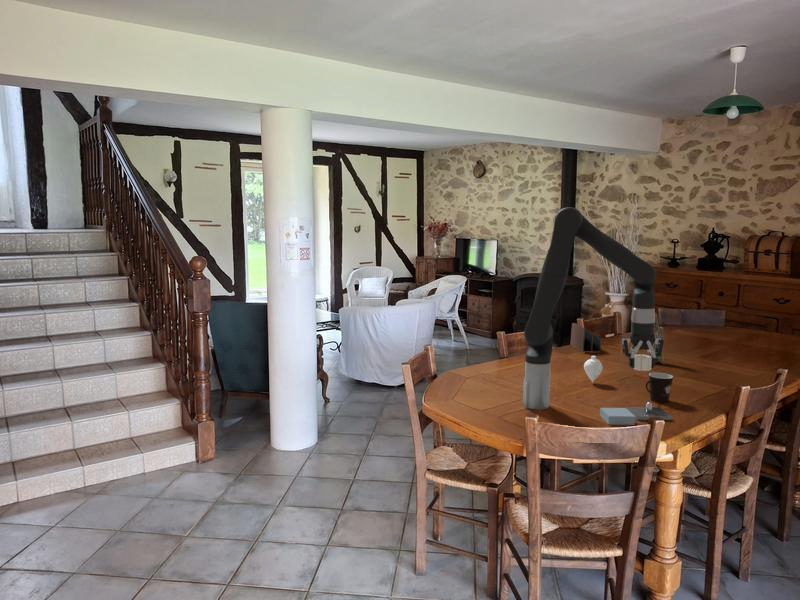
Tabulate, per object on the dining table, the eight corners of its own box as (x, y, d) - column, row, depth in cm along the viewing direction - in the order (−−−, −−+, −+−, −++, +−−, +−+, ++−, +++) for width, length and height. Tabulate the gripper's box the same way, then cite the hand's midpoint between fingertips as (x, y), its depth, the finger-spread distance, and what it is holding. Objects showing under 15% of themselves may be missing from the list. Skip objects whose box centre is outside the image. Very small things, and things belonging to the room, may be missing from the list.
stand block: (608, 424, 194) (608, 416, 194) (599, 415, 203) (600, 407, 203) (634, 424, 194) (635, 416, 194) (625, 416, 203) (625, 408, 203)
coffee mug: (664, 397, 225) (666, 372, 224) (675, 403, 217) (677, 378, 216) (635, 397, 225) (637, 372, 224) (645, 404, 217) (647, 378, 215)
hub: (637, 420, 199) (637, 406, 198) (626, 411, 208) (627, 397, 208) (671, 420, 198) (672, 406, 198) (659, 411, 208) (660, 398, 208)
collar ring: (635, 370, 196) (636, 358, 195) (629, 366, 202) (630, 354, 201) (653, 370, 195) (653, 358, 195) (646, 366, 201) (647, 354, 201)
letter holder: (582, 353, 302) (583, 327, 300) (570, 345, 322) (571, 321, 320) (600, 353, 302) (602, 327, 300) (587, 345, 322) (588, 321, 320)
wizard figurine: (657, 366, 273) (661, 315, 270) (641, 363, 280) (644, 313, 277) (669, 363, 279) (673, 313, 276) (653, 360, 286) (656, 311, 283)
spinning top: (589, 386, 241) (591, 358, 239) (579, 381, 248) (580, 354, 246) (605, 384, 243) (606, 357, 241) (594, 380, 250) (596, 353, 248)
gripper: (625, 322, 193) (624, 370, 195) (668, 322, 192) (667, 370, 194) (618, 319, 200) (617, 365, 203) (659, 318, 200) (658, 365, 202)
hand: (641, 367), depth 198 cm, fingers closed on collar ring, 6 cm apart
